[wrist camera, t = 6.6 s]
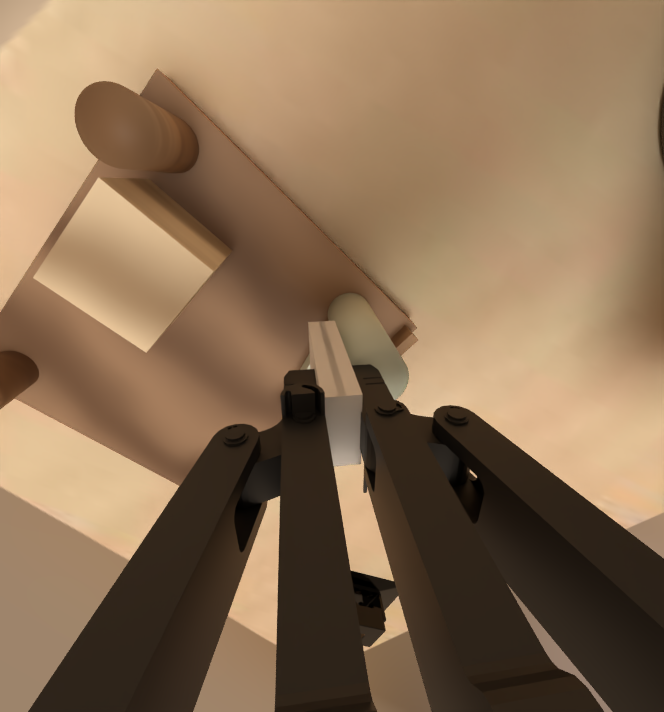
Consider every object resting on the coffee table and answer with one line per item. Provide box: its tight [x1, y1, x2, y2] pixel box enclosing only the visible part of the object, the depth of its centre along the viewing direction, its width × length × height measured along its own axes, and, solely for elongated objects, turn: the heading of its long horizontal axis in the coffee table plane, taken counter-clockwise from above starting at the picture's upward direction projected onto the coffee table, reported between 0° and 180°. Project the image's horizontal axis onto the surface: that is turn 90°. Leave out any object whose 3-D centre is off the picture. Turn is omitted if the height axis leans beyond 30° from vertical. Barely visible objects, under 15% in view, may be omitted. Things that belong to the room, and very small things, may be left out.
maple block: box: [33, 177, 232, 353], centre depth 17 cm, size 5×5×5 cm
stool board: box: [0, 69, 418, 486], centre depth 19 cm, size 20×18×8 cm
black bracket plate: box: [351, 571, 398, 647], centre depth 35 cm, size 12×7×5 cm, turn 61°
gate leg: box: [300, 293, 409, 400], centre depth 18 cm, size 6×3×8 cm, turn 151°
